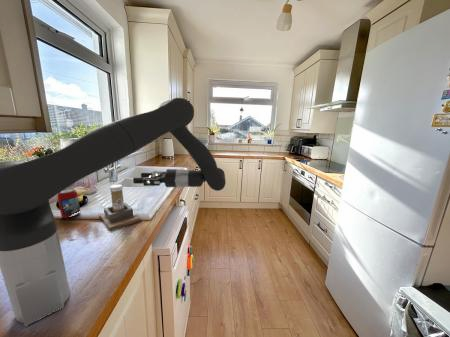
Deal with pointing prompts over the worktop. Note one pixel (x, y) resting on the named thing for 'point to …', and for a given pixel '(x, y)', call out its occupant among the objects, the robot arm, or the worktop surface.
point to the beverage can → (68, 202)
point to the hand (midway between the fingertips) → (137, 177)
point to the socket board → (119, 217)
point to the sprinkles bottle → (117, 198)
